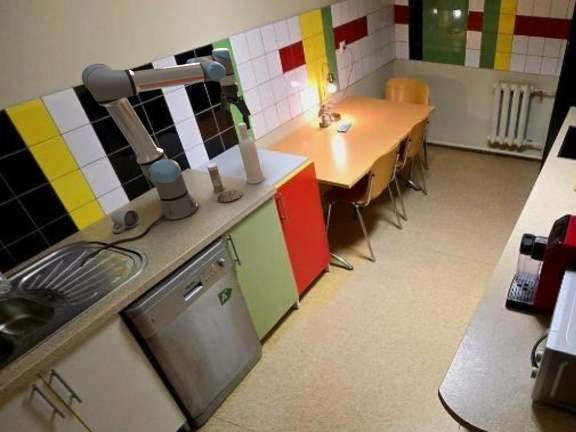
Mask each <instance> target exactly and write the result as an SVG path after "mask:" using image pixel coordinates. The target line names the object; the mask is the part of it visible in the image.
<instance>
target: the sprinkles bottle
mask: <svg viewBox="0 0 576 432" xmlns="http://www.w3.org/2000/svg"><path fill="white" fill-rule="evenodd" d="M218 168H219V167H218V164H217V163H209V164H207V166H206V169H207V171H208V174H209V178H210V181H211V184H212V187H213V191H214V192H217V193H220V192H222V191H224V189H225V188H224V186H223V181H222V178H221V174H220V172H219V169H218Z"/></svg>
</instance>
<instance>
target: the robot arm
mask: <svg viewBox="0 0 576 432" xmlns="http://www.w3.org/2000/svg"><path fill="white" fill-rule="evenodd" d="M81 81H82V84H83V85H84V87H85V88H86V89H87V90H88V91H89V92H90V94H91V95H92V97H93V98H94V100H95V102H96V103H97V104H98V105H99V106H101V107H104V108H105V109H106V110H107V112H108V114H109V115H110V117H111V118H112V120H113V121H114V123H115V124H116V126H117V127H118V129H119V130H120V132H121V133H122V134H123V136H124V138H125V139H126V141H127V143H128V144H129V145H130V147H131V148H132V150H133V151H134V153H135V154H136V156H137V158H136V163H137V164H138V165H139V167H140V168H141V172H142V173H143V175H144V176H145V177H146V178H147V179H148V180H149V181H150V182H151V183H152V184H153V185H154V187H155V189H156V192H157V195H158V197H159V200H160V214H161V216H160V217H159V218H158V219H156V220H155V221H153V222H152V223H151V224H150V225H149V226H147V227H146V229H145V230H144V231H143V232H142V233H141V234H139V235H137V236H133V237H129V238H122V239H118V240H115V241H113V242H110V243H107V244H106V245H104V246H101V247H100V248H98V249H97V250H95V251H93V252H91V253H89V254H87V255H86V256H85V257H84V258H83V259H82V261H81V262H80V266H79V268H83V267H84V265H85V263H86V262H87V260H88V259H90V258H91V257H93V256H94V255H96V254H98V253H100V252H102V251H103V250H105V249H107V248H109V247H111V246H114V245H116V244H119V243H124V242H128V241H129V242H130V241H134V240H138V239H140V238H142V237H143V236H145V235H146V234H147V233H149V231H150V229H151V228H152V227H154V226H155V225H156V224H158V223H159V222H161V220H163V219H164V220H167V221H177V220H182V219H186V218H188V217H190V216H192V215H193V214H195V213H196V212H197V211H198V209H199V206H198V203H197V201H196V199H195V198H194V197H193V196H192V195H191V194H190V192H189V190H188V187H187V184H186V182H185V181H186V180H185V179H184V176H183V173H182V169H181V167H180V165H179V163H178V162H177V161H175V160H173V159H169V158H168V156H167V155H166V153H165V151H164V150H163V149H162V148H160V147H157V145H156V143H155V142H154V140H153V138H152V137H151V136H150V134H149V132H148V131H147V129H146V128H145V126H144V124H143V123H142V121H141V119H140V117H139V116H138V115H137V113H136V111H135V110H134V108H133V106H132V105H131V103H130V102H129V100H128V98H129V97H135V96H138V95H139V93H144V92H148V91H155V90H160V89H161V90H162V89H168V88H173V87H179V86H185V85H192V84H197V83H203V82H210V81H211V82H219V84H220V90H221V92H220V93H219V94H220V107H219V109H220V111H221V112H223V115H224V117H225V120H226V124H227V127H229V126H232V125H234V121H233V119H232V114H231V110H230V108H231V106H232V105H233V106H234V107H236V109H237V110H238V111H239V113H240V114H241V116H242V117H241V118H242V123H246V126H247V131H248V130H249V131H250V130H251V125H250V118H249V117H250V116H252V114H251V111H250V110H249V108H248V105H247V104H246V101H245V99H244V96H243V94H240V95H239V94H238V92H239V90H240V89H239V85H238V83H237V78H236V73H235V68H234V64H233V58H232V55H231V52H230V49H228V48H226V47H219V48H214V49H213V50H212V51H211V54H210V55H206V56H200V57H193V58H189V59H187V61H186V63H185V64H180V65H173V66H166V67H158V68H157V67H155V68H150V69H142V70H135V71H132V70H131V69H128V68H127V69H112V68H111V67H110V66H108V65H106V64H104V63H92V64H91V63H90V64H88V65H87V66H86V67H84V69H83V70H82V73H81Z"/></svg>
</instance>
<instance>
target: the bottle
mask: <svg viewBox="0 0 576 432" xmlns="http://www.w3.org/2000/svg"><path fill="white" fill-rule="evenodd" d="M237 129H238V131H239V135H240V139H239V141H238V149H239V153H240V157H241V160H242V164H243V167H244V168H243V169H244V173H245V177H246V180H247V183H249V184H250V185H256V184H260V183H262V182H263V181H264V174H263V171H262V170H263V169H262V167H261V162H260V158H259V155H258V154H259V153H258V149H257V146H256V142H255V140H254V139H253V138H252V137H251V136H249V131H248V130H247V126H246V123H243V122H239V123H238V124H237Z"/></svg>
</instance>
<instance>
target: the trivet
mask: <svg viewBox="0 0 576 432" xmlns="http://www.w3.org/2000/svg"><path fill="white" fill-rule="evenodd" d="M242 195H243V194H242V192H241V191H240V190H236V189H232V190H226V191H223V192H221V193H220V194H218V196H217V201H218V202H219V203H221V204H230V203H234V202H236V201H238V200H239V199H240V198H242Z"/></svg>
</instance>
